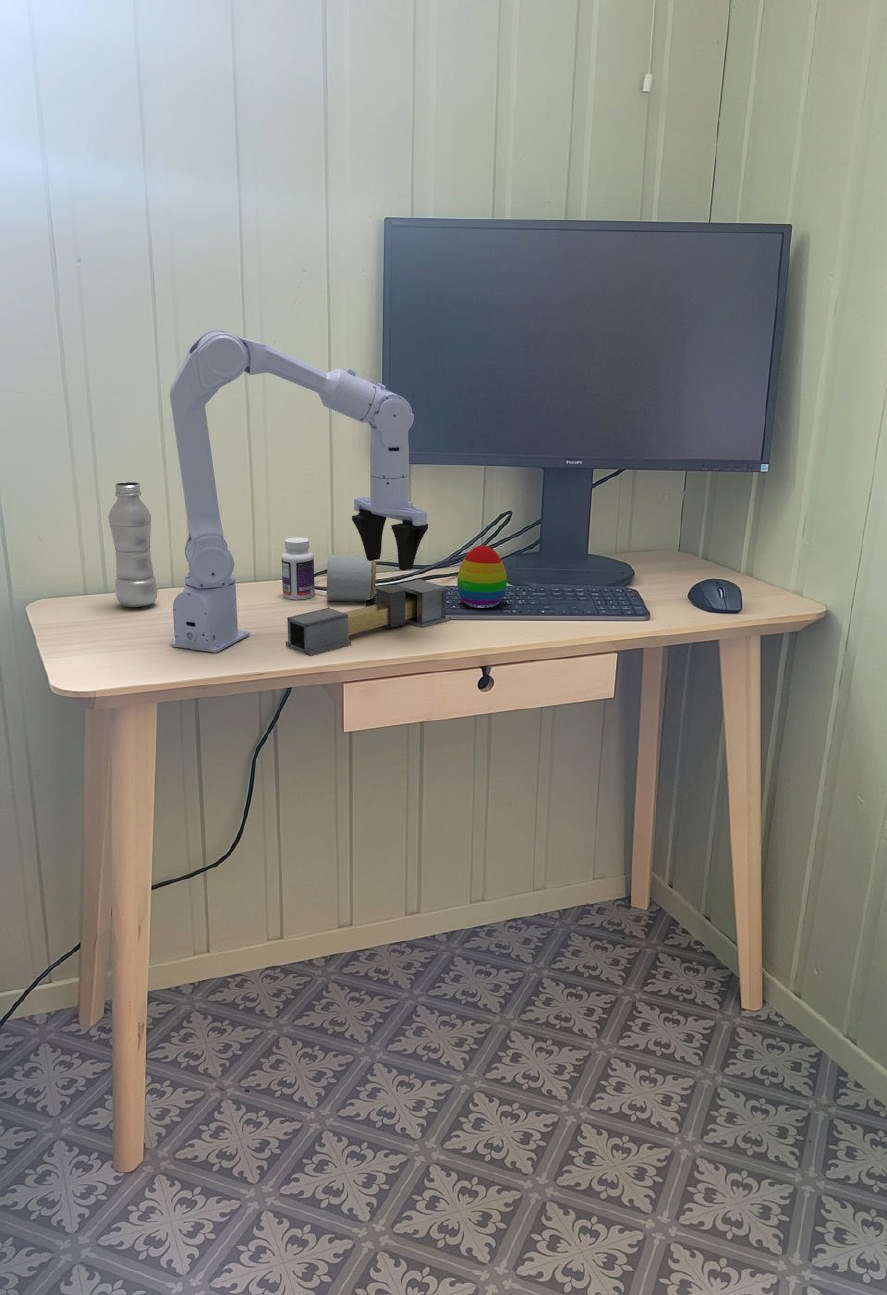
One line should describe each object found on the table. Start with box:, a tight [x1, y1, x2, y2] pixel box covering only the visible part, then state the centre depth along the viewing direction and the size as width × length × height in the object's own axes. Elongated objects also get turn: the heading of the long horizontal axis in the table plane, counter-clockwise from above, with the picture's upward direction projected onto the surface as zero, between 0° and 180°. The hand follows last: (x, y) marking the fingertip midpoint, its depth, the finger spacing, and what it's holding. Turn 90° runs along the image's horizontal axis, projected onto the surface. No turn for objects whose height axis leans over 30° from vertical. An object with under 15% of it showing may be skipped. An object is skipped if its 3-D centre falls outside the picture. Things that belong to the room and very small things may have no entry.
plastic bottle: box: [108, 481, 159, 608], centre depth 174 cm, size 6×7×20 cm
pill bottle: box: [281, 536, 316, 601], centre depth 183 cm, size 5×5×10 cm
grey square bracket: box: [395, 579, 451, 628], centre depth 172 cm, size 6×7×5 cm
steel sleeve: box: [284, 607, 352, 657], centre depth 159 cm, size 8×6×4 cm
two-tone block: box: [342, 584, 417, 636], centre depth 166 cm, size 17×3×6 cm, turn 133°
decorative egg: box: [456, 544, 508, 605], centre depth 180 cm, size 8×8×10 cm
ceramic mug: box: [326, 554, 377, 602], centre depth 183 cm, size 11×8×8 cm
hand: (389, 564), depth 166 cm, fingers open, 7 cm apart
